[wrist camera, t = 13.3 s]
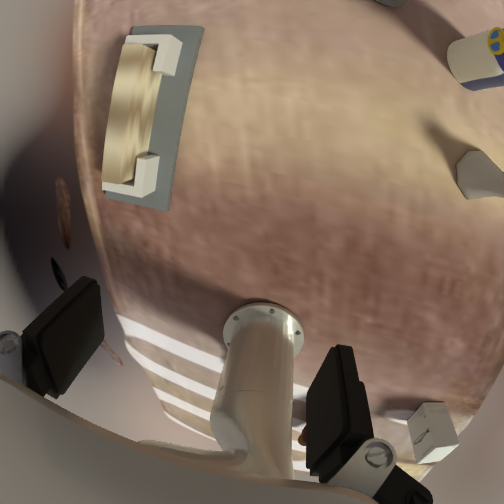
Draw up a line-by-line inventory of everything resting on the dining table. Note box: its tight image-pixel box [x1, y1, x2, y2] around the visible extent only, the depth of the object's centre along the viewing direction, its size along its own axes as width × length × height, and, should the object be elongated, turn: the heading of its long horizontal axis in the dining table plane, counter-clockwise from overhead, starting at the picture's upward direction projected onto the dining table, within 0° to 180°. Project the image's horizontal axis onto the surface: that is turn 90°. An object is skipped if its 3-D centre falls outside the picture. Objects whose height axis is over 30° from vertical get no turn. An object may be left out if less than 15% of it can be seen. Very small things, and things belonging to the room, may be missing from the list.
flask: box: [456, 151, 504, 199], centre depth 27 cm, size 7×7×10 cm
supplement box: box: [407, 402, 459, 464], centre depth 45 cm, size 7×7×13 cm
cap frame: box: [102, 26, 204, 211], centre depth 32 cm, size 25×10×5 cm, turn 168°
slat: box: [101, 44, 162, 184], centre depth 30 cm, size 16×2×7 cm, turn 168°
